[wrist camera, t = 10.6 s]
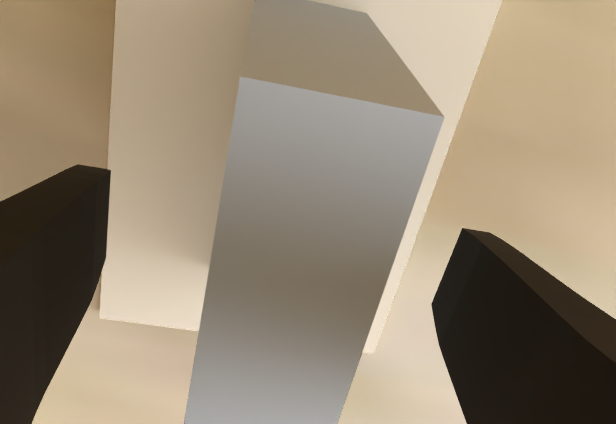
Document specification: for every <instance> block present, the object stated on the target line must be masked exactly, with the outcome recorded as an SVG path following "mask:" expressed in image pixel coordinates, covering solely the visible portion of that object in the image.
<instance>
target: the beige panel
mask: <svg viewBox="0 0 616 424" xmlns="http://www.w3.org/2000/svg"><path fill="white" fill-rule="evenodd" d="M309 1H314V2H318V3H323V4H327V5H332V6H336V7H341V8H345V9H350V10H354V11H359V12H363V13H367V14H368V15H369V16H370V18H371V19H372V21H373V22H374V23H375V25H376V26H377V27H378V29H379V30H380V31H381V33H382V34H383V35H384V37H385V38H386V39H387V41H388V42H389V43H390V45H391V46H392V47H393V49H394V50H395V51H396V53H397V54H398V55H399V57H400V58H401V59H402V61H403V62H404V63H405V65H406V66H407V67H408V69H409V70H410V71H411V73H412V74H413V75H414V77H415V78H416V79H417V81H418V82H419V83H420V85H421V86H422V87H423V89H424V90H425V91H426V93H427V94H428V95H429V97H430V98H431V99H432V101H433V102H434V103H435V105H436V106H437V107H438V109H439V110H440V111H441V113H442V114H443V115H444V120H443V123H442V126H441V129H440V132H439V134H438V137H437V140H436V143H435V146H434V149H433V152H432V154H431V157H430V160H429V163H428V166H427V169H426V172H425V174H424V177H423V180H422V183H421V186H420V189H419V192H418V194H417V197H416V200H415V203H414V206H413V209H412V212H411V214H410V217H409V220H408V223H407V226H406V229H405V232H404V234H403V237H402V240H401V243H400V246H399V249H398V252H397V254H396V257H395V260H394V263H393V266H392V269H391V272H390V274H389V277H388V280H387V283H386V286H385V289H384V292H383V294H382V297H381V300H380V303H379V306H378V309H377V312H376V314H375V317H374V320H373V323H372V326H371V329H370V332H369V335H368V337H367V340H366V343H365V346H364V349H363V352H362V353H370V354H374V352H375V350H376V347H377V344H378V341H379V339H380V336H381V333H382V330H383V328H384V325H385V322H386V319H387V317H388V314H389V311H390V308H391V306H392V303H393V300H394V297H395V295H396V292H397V289H398V286H399V284H400V281H401V278H402V275H403V273H404V270H405V267H406V264H407V262H408V259H409V256H410V253H411V251H412V248H413V245H414V243H415V240H416V237H417V234H418V232H419V229H420V226H421V223H422V221H423V218H424V215H425V212H426V210H427V207H428V204H429V201H430V199H431V196H432V193H433V190H434V188H435V185H436V182H437V179H438V177H439V174H440V171H441V168H442V166H443V163H444V160H445V157H446V155H447V152H448V149H449V146H450V144H451V141H452V138H453V135H454V133H455V130H456V127H457V124H458V122H459V119H460V116H461V113H462V111H463V108H464V105H465V102H466V100H467V97H468V94H469V91H470V89H471V86H472V83H473V80H474V78H475V75H476V72H477V69H478V67H479V64H480V61H481V58H482V56H483V53H484V50H485V47H486V45H487V42H488V39H489V36H490V34H491V31H492V28H493V25H494V23H495V20H496V17H497V14H498V12H499V9H500V6H501V3H502V1H503V0H309ZM253 5H254V0H116V10H115V29H114V49H113V68H112V87H111V106H110V125H109V144H108V163H107V169H108V170H111V178H110V196H109V214H108V232H107V250H106V260H105V263H104V266H103V269H102V278H101V297H100V316H99V318H101V319H108V320H116V321H124V322H131V323H139V324H147V325H154V326H162V327H170V328H178V329H185V330H193V331H199V327H200V321H201V315H202V309H203V303H204V296H205V290H206V284H207V278H208V272H209V266H210V259H211V253H212V247H213V241H214V235H215V229H216V222H217V216H218V210H219V204H220V198H221V192H222V185H223V179H224V173H225V167H226V161H227V155H228V148H229V142H230V136H231V130H232V124H233V118H234V111H235V105H236V99H237V93H238V87H239V81H240V75H241V69H242V64H243V59H244V53H245V48H246V42H247V37H248V32H249V26H250V21H251V15H252V10H253Z"/></svg>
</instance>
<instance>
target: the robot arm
mask: <svg viewBox="0 0 616 424" xmlns="http://www.w3.org/2000/svg"><path fill="white" fill-rule="evenodd" d="M110 178H111V170H108V169H102V168H96V167H90V166H84V165H76V166H73V167H71V168H68V169H66V170H64V171H62V172H60V173H58V174H56V175H54V176H52V177H50V178H48V179H46V180H44V181H42V182H40V183H38V184H36V185H34V186H32V187H30V188H28V189H26V190H24V191H22V192H20V193H18V194H16V195H14V196H11V197H9V198H7V199H5V200H3V201H0V424H32V421H33V418H34V416H35V413H36V411H37V409H38V407H39V405H40V402H41V400H42V398H43V396H44V394H45V391H46V389H47V387H48V386H49V384H50V382H51V380H52V378H53V376H54V374H55V372H56V370H57V368H58V366H59V364H60V362H61V360H62V358H63V356H64V354H65V352H66V350H67V348H68V346H69V344H70V342H71V340H72V338H73V336H74V335H75V333H76V331H77V329H78V327H79V325H80V323H81V321H82V319H83V317H84V315H85V313H86V311H87V309H88V307H89V305H90V302H91V300H92V298H93V295H94V292H95V289H96V287H97V284H98V281H99V278H100V275H101V272H102V269H103V266H104V263H105V260H106V250H107V232H108V214H109V196H110ZM432 310H433V316H434V322H435V327H436V332H437V337H438V342H439V346H440V349H441V352H442V355H443V358H444V361H445V364H446V366H447V369H448V372H449V375H450V378H451V381H452V383H453V386H454V389H455V392H456V395H457V397H458V400H459V403H460V406H461V408H462V411H463V414H464V417H465V419H466V422H467V424H616V319H614V318H613V317H611V316H610V315H608V314H607V313H605V312H604V311H602V310H601V309H599V308H598V307H596V306H595V305H593V304H592V303H590V302H589V301H587V300H586V299H584V298H583V297H582V296H580V295H579V294H577V293H576V292H574V291H573V290H572V289H570V288H569V287H567V286H566V285H565V284H563V283H562V282H560V281H559V280H558V279H556V278H555V277H554V276H552V275H551V274H550V273H548V272H547V271H545V270H544V269H543V268H541V267H540V266H539V265H537V264H536V263H535V262H533V261H532V260H530V259H529V258H528V257H526V256H525V255H524V254H522V253H521V252H519V251H518V250H517V249H515V248H514V247H512V246H511V245H509V244H508V243H506V242H505V241H503V240H502V239H500V238H498V237H497V236H495V235H493V234H491V233H489V232H483V231H476V230H470V229H464V228H462V230H461V233H460V235H459V238H458V240H457V243H456V245H455V248H454V250H453V253H452V255H451V257H450V260H449V262H448V265H447V267H446V270H445V272H444V275H443V277H442V280H441V282H440V285H439V287H438V290H437V292H436V294H435V297H434V299H433V302H432Z"/></svg>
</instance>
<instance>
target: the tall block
mask: <svg viewBox="0 0 616 424" xmlns="http://www.w3.org/2000/svg"><path fill="white" fill-rule="evenodd" d="M443 120H444V115H443V114H442V113H441V111H440V110H439V109H438V107H437V106H436V105H435V103H434V102H433V101H432V99H431V98H430V97H429V95H428V94H427V93H426V91H425V90H424V89H423V87H422V86H421V85H420V83H419V82H418V81H417V79H416V78H415V77H414V75H413V74H412V73H411V71H410V70H409V69H408V67H407V66H406V65H405V63H404V62H403V61H402V59H401V58H400V57H399V55H398V54H397V53H396V51H395V50H394V49H393V47H392V46H391V45H390V43H389V42H388V41H387V39H386V38H385V37H384V35H383V34H382V33H381V31H380V30H379V29H378V27H377V26H376V25H375V23H374V22H373V21H372V19H371V18H370V16H369V15H368V14H367V13H363V12H359V11H354V10H350V9H345V8H341V7H336V6H332V5H327V4H323V3H318V2H314V1H309V0H254V5H253V10H252V15H251V21H250V26H249V32H248V37H247V42H246V48H245V53H244V59H243V64H242V69H241V75H240V81H239V87H238V93H237V99H236V105H235V111H234V118H233V124H232V130H231V136H230V142H229V148H228V155H227V161H226V167H225V173H224V179H223V185H222V192H221V198H220V204H219V210H218V216H217V222H216V229H215V235H214V241H213V247H212V253H211V259H210V266H209V272H208V278H207V284H206V290H205V296H204V303H203V309H202V315H201V321H200V327H199V333H198V340H197V346H196V352H195V358H194V364H193V370H192V377H191V383H190V389H189V395H188V401H187V407H186V414H185V420H184V424H337V423H338V420H339V417H340V415H341V412H342V409H343V406H344V403H345V400H346V397H347V395H348V392H349V389H350V386H351V383H352V380H353V377H354V375H355V372H356V369H357V366H358V363H359V360H360V357H361V355H362V352H363V349H364V346H365V343H366V340H367V337H368V335H369V332H370V329H371V326H372V323H373V320H374V317H375V314H376V312H377V309H378V306H379V303H380V300H381V297H382V294H383V292H384V289H385V286H386V283H387V280H388V277H389V274H390V272H391V269H392V266H393V263H394V260H395V257H396V254H397V252H398V249H399V246H400V243H401V240H402V237H403V234H404V232H405V229H406V226H407V223H408V220H409V217H410V214H411V212H412V209H413V206H414V203H415V200H416V197H417V194H418V192H419V189H420V186H421V183H422V180H423V177H424V174H425V172H426V169H427V166H428V163H429V160H430V157H431V154H432V152H433V149H434V146H435V143H436V140H437V137H438V134H439V132H440V129H441V126H442V123H443Z"/></svg>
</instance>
